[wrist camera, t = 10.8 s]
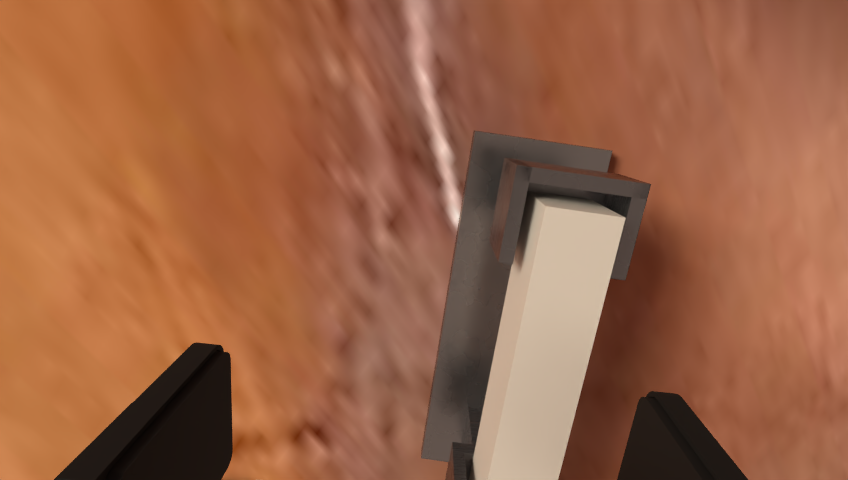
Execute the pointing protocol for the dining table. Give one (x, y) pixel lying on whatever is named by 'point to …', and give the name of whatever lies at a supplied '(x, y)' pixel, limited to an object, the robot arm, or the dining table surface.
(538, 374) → the rail
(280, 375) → the dining table surface
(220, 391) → the robot arm
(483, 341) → the bracket stand
